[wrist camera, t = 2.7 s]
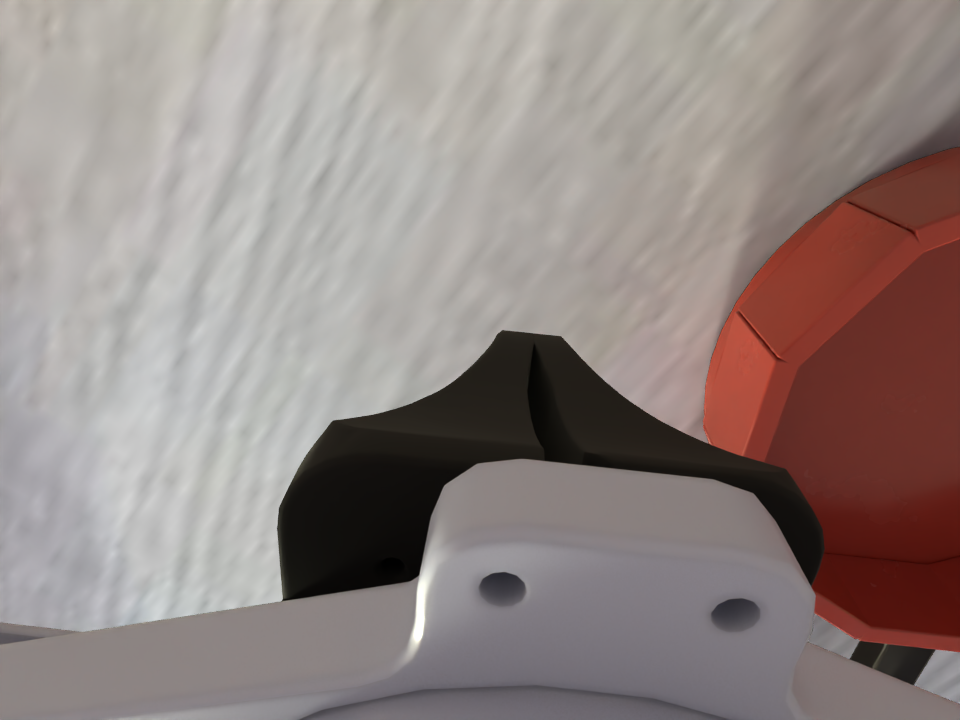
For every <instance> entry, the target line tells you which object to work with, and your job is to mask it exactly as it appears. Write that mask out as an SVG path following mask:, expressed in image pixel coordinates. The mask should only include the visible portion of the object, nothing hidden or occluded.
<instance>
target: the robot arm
mask: <svg viewBox="0 0 960 720" xmlns="http://www.w3.org/2000/svg"><path fill="white" fill-rule="evenodd" d="M277 531H278V544H279V556H280V568H281V581H282V593H283V600H282V601H281V602H275V603H268V604H262V605H255V606H249V607H242V608H236V609H229V610H223V611H216V612H210V613H203V614H197V615H190V616H184V617H177V618H171V619H164V620H158V621H151V622H145V623H138V624H132V625H125V626H119V627H113V628H106V629H100V630H93V631H87V632H79V631H70V630H61V629H52V628H43V627H34V626H26V625H17V624H8V623H0V720H960V704H958V703H955V702H953V701H950V700H948V699H946V698H943V697H941V696H938V695H936V694H933V693H931V692H928V691H926V690H924V689H921V688H919V687H916V686H914V685H911V684H909V683H906V682H904V681H902V680H899V679H897V678H894V677H892V676H889V675H887V674H884V673H882V672H880V671H877V670H875V669H872V668H870V667H867V666H865V665H862V664H860V663H858V662H855V661H853V660H850V659H848V658H845V657H843V656H840V655H838V654H835V653H833V652H831V651H828V650H826V649H823V648H821V647H818V646H816V645H813V644H811V643H809V642H807V641H808V639H809V637H810V635H811V633H812V631H813V620H814V609H815V597H816V595H815V593H814V591H813V589H812V584H813V582H814V580H815V578H816V576H817V573H818V571H819V569H820V565H821V561H822V558H823V554H824V550H825V547H824V537H823V529H822V527H821V525H820V523H819V521H818V519H817V517H816V515H815V513H814V511H813V509H812V508H811V506H810V504H809V503H808V501H807V500H806V498H805V496H804V495H803V493H802V492H801V490H800V489H799V487H798V486H797V484H796V483H795V481H794V479H793V478H792V476H791V475H790V474H789V472H788V471H787V470H786V469H785V468H781V467H778V466H774V465H771V464H768V463H764V462H761V461H757V460H754V459H751V458H747V457H744V456H740V455H737V454H734V453H731V452H728V451H726V450H723V449H721V448H718V447H715V446H713V445H710V444H708V443H705V442H703V441H700V440H698V439H696V438H694V437H691V436H689V435H687V434H685V433H683V432H681V431H679V430H677V429H675V428H673V427H671V426H669V425H667V424H665V423H663V422H661V421H660V420H658V419H656V418H655V417H653V416H651V415H650V414H648V413H646V412H645V411H643V410H642V409H640V408H639V407H637V406H636V405H634V404H633V403H631V402H630V401H629V400H627V399H626V398H625V397H623V396H622V395H621V394H619V393H618V392H617V391H616V390H615V389H613V388H612V387H611V386H610V385H609V384H607V383H606V382H605V381H604V380H603V379H602V378H601V377H600V376H599V375H597V374H596V373H595V372H594V371H593V370H592V369H591V368H590V367H589V366H588V365H587V364H586V363H585V362H584V361H583V360H582V359H581V357H580V356H579V355H578V354H577V353H576V352H575V351H574V350H573V349H572V348H571V347H570V345H569V344H568V343H567V342H566V341H565V340H564V339H563V338H562V337H561V336H552V335H543V334H533V333H524V332H514V331H504V330H502V331H501V332H500V333H498V334H497V336H496V338H495V339H494V341H493V343H492V344H491V345H490V346H489V348H488V349H487V350H486V351H485V353H484V354H483V355H482V356H481V357H480V358H479V359H478V360H477V361H476V362H475V363H474V364H473V365H472V366H471V367H470V368H469V369H468V370H467V371H465V372H464V373H463V374H462V375H461V376H460V377H459V378H457V379H456V380H455V381H453V382H452V383H451V384H449V385H448V386H446V387H445V388H443V389H441V390H440V391H438V392H436V393H434V394H432V395H429V396H427V397H425V398H423V399H420V400H418V401H416V402H414V403H412V404H409V405H406V406H403V407H400V408H397V409H394V410H390V411H386V412H383V413H378V414H374V415H369V416H362V417H356V418H349V419H343V420H334V421H332V422H331V423H330V425H329V426H328V427H327V429H326V430H325V431H324V433H323V434H322V435H321V436H320V438H319V439H318V440H317V441H316V443H315V444H314V445H313V447H312V448H311V449H310V451H309V452H308V454H307V455H306V457H305V458H304V460H303V462H302V463H301V465H300V467H299V468H298V470H297V472H296V474H295V476H294V478H293V480H292V482H291V484H290V486H289V488H288V490H287V492H286V494H285V496H284V498H283V501H282V503H281V505H280V507H279V515H278V526H277Z"/></svg>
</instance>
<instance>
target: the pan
mask: <svg viewBox="0 0 960 720" xmlns="http://www.w3.org/2000/svg"><path fill="white" fill-rule="evenodd" d="M704 415H705V416H704V420H703V424H704V425H703V428H704V431H705V434H706V436H707V439H708V442H709V444H710V445H713V446H715V447H718V448H721V449H723V450H726V451H728V452H731V453H734V454H737V455H740V456H744V457H747V458H751V459H754V460H757V461H761V462H764V463H768V464H771V465H774V466H778V467H781V468H785V469H786V470H787V471H788V472H789V474H790V475H791V476H792V478H793V479H794V481H795V483H796V484H797V486H798V487H799V489H800V490H801V492H802V493H803V495H804V496H805V498H806V500H807V501H808V503H809V504H810V506H811V508H812V509H813V511H814V513H815V515H816V517H817V519H818V521H819V523H820V525H821V527H822V529H823V537H824V547H825V550H824V554H823V558H822V561H821V565H820V569H819V571H818V573H817V576H816V578H815V580H814V582H813V584H812V589H813V591H814V593H815V595H816V597H815V609H814V613H815V614H817V615H818V616H820V617H821V618H823V619H824V620H826V621H828V622H829V623H831V624H832V625H834V626H835V627H837V628H839V629H840V630H842V631H843V632H845V633H846V634H848V635H849V636H851V637H853V638H854V639H859V640H860V641H859V643H858V645H857V647H856V649H855V651H854V653H853V654H852V656H851V658H850V660H853V661H855V662H858V663H860V664H862V665H865V666H867V667H870V668H872V669H875V670H877V671H880V672H882V673H884V674H887V675H889V676H892V677H894V678H897V679H899V680H902V681H904V682H906V683H909V684H911V685H914V684H915V682H916V680H917V679H918V677H919V676H920V674H921V672H922V671H923V669H924V667H925V666H926V664H927V663H928V661H929V659H930V658H931V656H932V655H933V653H934V651H935V650H945V651H954V652H960V147H956V148H952V149H947V150H944V151H942V152H939V153H936V154H933V155H930V156H927V157H924V158H921V159H918V160H915V161H912V162H909V163H907V164H905V165H903V166H900V167H898V168H896V169H894V170H892V171H890V172H887V173H885V174H883V175H881V176H879V177H877V178H874V179H872V180H870V181H868V182H867V183H865V184H863V185H862V186H860V187H858V188H857V189H855V190H853V191H852V192H850V193H848V194H847V195H845V196H843V197H842V198H840V199H838V200H837V201H835V202H834V203H832V204H831V205H830V206H828V207H827V208H826V209H824V210H823V211H822V212H820V213H819V214H818V215H816V216H815V217H814V218H812V219H811V220H810V221H808V222H807V223H806V224H804V225H803V226H802V227H801V228H800V229H799V230H798V231H797V232H796V233H795V234H794V235H793V236H791V237H790V238H789V239H788V240H787V241H786V242H785V243H784V244H783V245H782V246H781V247H780V248H778V249H777V251H776V252H775V253H774V254H773V255H772V256H771V257H770V259H769V260H768V261H767V262H766V263H765V264H764V266H763V267H762V268H761V269H760V270H759V271H758V272H757V274H756V275H755V276H754V277H753V279H752V280H751V282H750V283H749V285H748V286H747V288H746V289H745V290H744V292H743V293H742V295H741V296H740V298H739V299H738V301H737V302H736V304H735V306H734V308H733V310H732V311H731V313H730V315H729V317H728V319H727V321H726V323H725V325H724V327H723V329H722V331H721V333H720V336H719V339H718V342H717V344H716V347H715V350H714V353H713V355H712V358H711V362H710V367H709V372H708V376H707V381H706V387H705V404H704Z"/></svg>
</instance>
